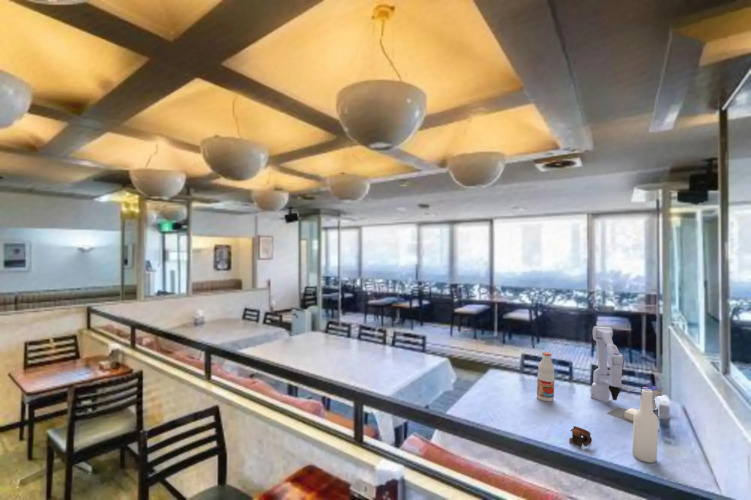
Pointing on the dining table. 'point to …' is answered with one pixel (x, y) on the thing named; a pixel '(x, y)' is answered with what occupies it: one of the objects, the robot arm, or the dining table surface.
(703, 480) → the dining table surface
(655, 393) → the ink cartridge box
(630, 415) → the sign slab
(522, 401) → the dining table surface
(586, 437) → the pottery mug
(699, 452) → the dining table surface
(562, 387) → the dining table surface
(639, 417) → the alcohol
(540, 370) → the fruit juice
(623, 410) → the mat
